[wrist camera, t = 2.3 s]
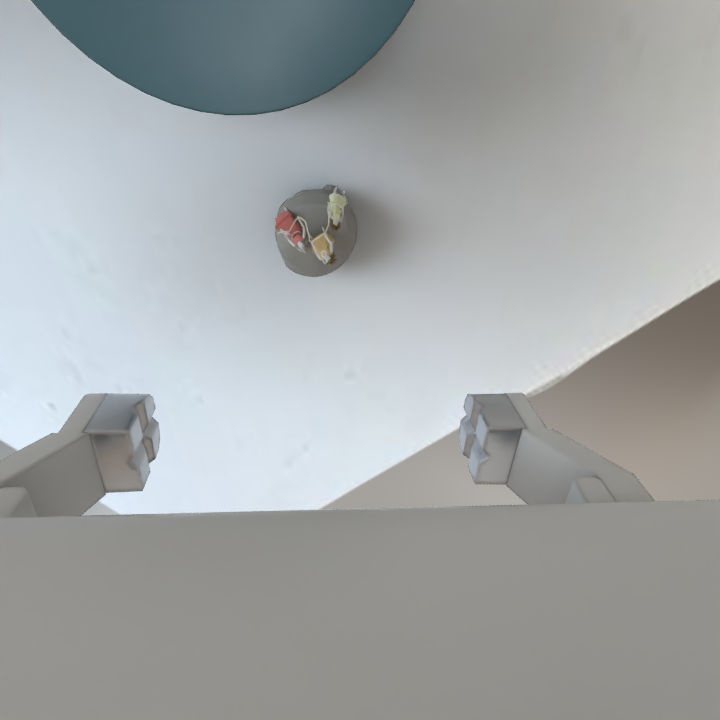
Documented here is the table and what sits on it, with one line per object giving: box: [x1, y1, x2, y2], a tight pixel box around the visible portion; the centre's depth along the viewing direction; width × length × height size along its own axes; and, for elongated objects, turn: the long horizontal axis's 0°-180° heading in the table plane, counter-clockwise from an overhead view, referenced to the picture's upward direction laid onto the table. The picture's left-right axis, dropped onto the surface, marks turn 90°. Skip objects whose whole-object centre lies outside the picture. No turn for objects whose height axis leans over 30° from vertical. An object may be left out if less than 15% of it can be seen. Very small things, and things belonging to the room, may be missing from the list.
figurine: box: [275, 185, 357, 277], centre depth 26 cm, size 5×4×6 cm
